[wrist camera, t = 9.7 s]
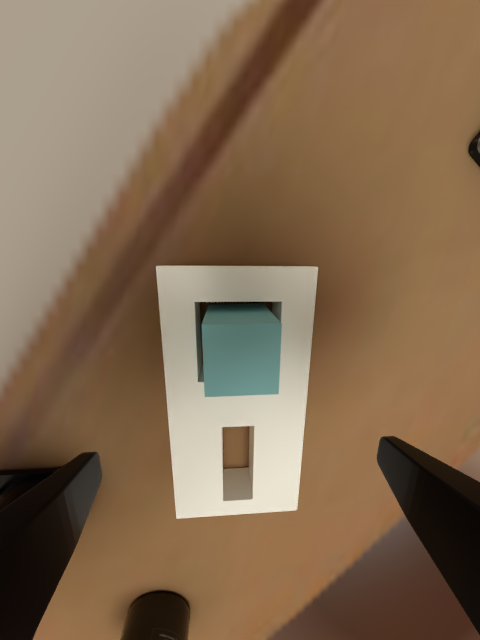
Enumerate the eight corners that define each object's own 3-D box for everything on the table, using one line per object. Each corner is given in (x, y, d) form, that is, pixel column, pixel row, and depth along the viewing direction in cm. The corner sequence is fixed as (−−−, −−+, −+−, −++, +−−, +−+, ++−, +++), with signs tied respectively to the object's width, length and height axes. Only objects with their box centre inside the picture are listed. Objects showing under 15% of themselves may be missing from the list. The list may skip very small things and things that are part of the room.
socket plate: (182, 484, 21) (176, 518, 19) (167, 265, 17) (155, 265, 14) (287, 477, 22) (297, 510, 19) (302, 266, 17) (318, 266, 14)
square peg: (210, 355, 19) (204, 397, 13) (208, 304, 18) (201, 324, 12) (261, 353, 19) (278, 394, 13) (262, 303, 18) (281, 323, 12)
